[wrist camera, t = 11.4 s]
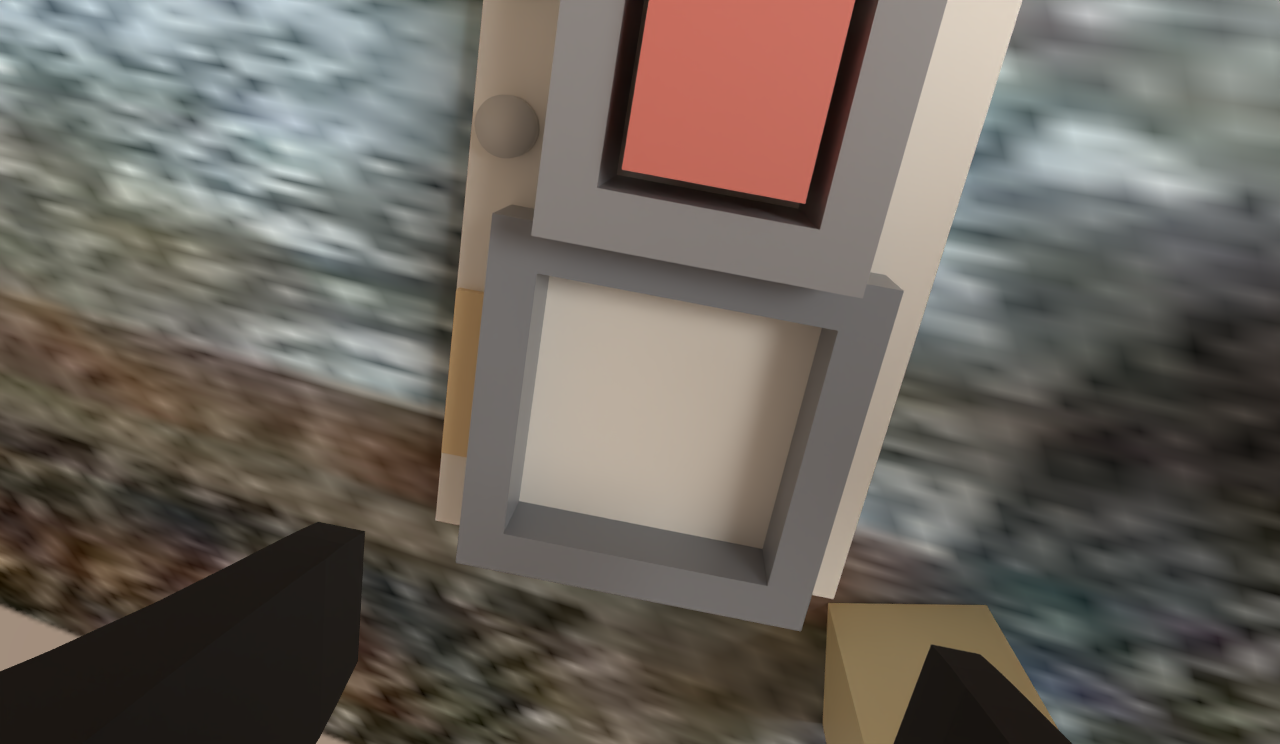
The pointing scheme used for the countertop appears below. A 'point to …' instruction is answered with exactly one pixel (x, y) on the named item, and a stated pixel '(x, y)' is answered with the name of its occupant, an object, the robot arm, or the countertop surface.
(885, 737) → the tan block
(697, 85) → the plunger
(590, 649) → the countertop surface
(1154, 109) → the countertop surface
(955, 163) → the panel
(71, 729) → the robot arm
